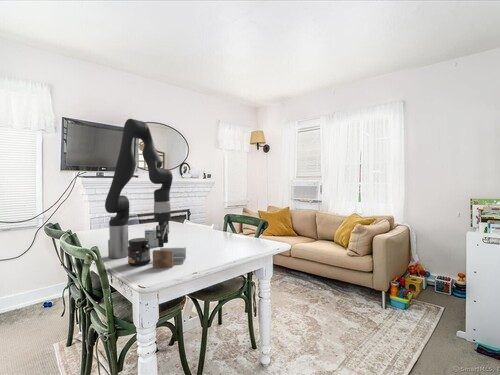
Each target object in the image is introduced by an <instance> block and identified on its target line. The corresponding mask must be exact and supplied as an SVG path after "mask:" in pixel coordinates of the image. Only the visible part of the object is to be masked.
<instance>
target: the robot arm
mask: <svg viewBox="0 0 500 375" xmlns="http://www.w3.org/2000/svg"><path fill="white" fill-rule="evenodd" d="M133 139H138V140H141V142H142V143H143V144H144V145H143V150H142V157H143V160H144V161H145V164H146V166H147V171H148V172H147V173H148V178H149V180H150V182H151V183H153V185H161V186H160V188H157V189H155V190H154V191H153V220H154V222H155V223H158V224H156V226H155V228H156V239H158V246H157V247H158V248H164V245H165V244H168V243H169V234H170V222H169V221H171V220H172V216H171V215H172V214H171V213H172V212H171V203H170V202H171V201H170V200H171V198H170V193H171V187H172V183H173V179H174V178H173V173H172V170H170V169H169V168H161V167H163V160H162V159H161V157H160V155H159V152H158V151H157V148H156V146H155V143H154V139H153V136H152V133H151V130H150V127H149V125H148V123H146V122H144V121H142V120H138V119H134V118H128V119H127V120H126V121H125V122H124V126H123V130H122V136H121V143H120V149H119V152H118V157H117V160H116V165H115V169H114V174H113V176H112V180H111V183H110V187H109V190H108V192H107V196H106V199H105V202H104V208H105V211H106V212H107V213H108V214H116V215H115V216H114V217H113V218H111V219H109V221H108V228H109V230H108V232H109V234H108V235H109V239H108V240H107V251H108V252H107V254H108V256H107V257H108V258H109V259H122V258H126V257H127V258H128V246H129V243H128V241H129V220H130V200H129V198H128V197H127V196H126V195H123V194H121V193H122V190H124V188H125V186H126V185H127V184H128V183H129V182H130V181H131V180H132V178H133V176H134V174H135V170H136V166H137V161H136V158H135V156H134V155H135V154H134V152H133V146H132V145H133ZM160 235H161V236H160Z"/></svg>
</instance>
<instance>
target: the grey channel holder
mask: <svg viewBox="0 0 500 375" xmlns="http://www.w3.org/2000/svg"><path fill="white" fill-rule="evenodd" d="M159 248H160V249H159V250H173V265H183V264H184V263H185V262H186V260H187V247H186V246H184V247H182V246H181V247H179V246H177V247H159Z"/></svg>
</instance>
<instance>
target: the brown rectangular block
mask: <svg viewBox="0 0 500 375" xmlns="http://www.w3.org/2000/svg"><path fill="white" fill-rule="evenodd" d="M173 267H174V264H173V250H160V249H154V250H152V268H153V269H169V268H170V269H172V268H173Z"/></svg>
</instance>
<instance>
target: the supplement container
mask: <svg viewBox="0 0 500 375" xmlns="http://www.w3.org/2000/svg"><path fill="white" fill-rule="evenodd" d="M150 263H151V247H150V244H149V239H148V238H145V237H136V238H135V237H134V238H131V239H128V256H127V264H128V265H129V266H131V267H141V266H142V267H143V266H146V265H149V264H150Z"/></svg>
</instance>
